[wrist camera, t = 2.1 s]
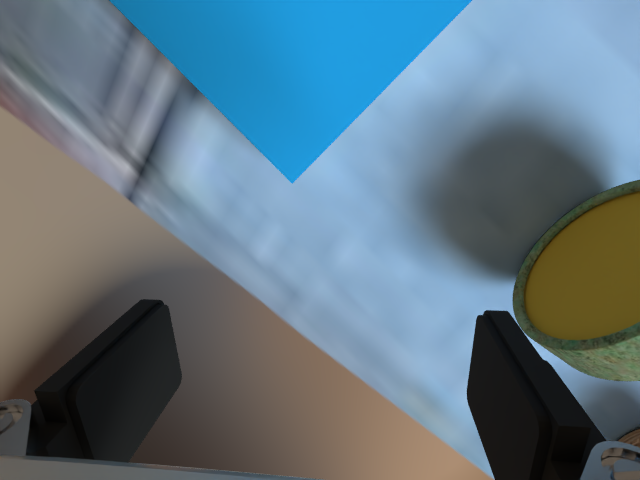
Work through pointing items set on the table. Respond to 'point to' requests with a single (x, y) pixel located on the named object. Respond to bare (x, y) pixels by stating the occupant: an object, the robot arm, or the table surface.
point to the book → (291, 61)
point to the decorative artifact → (587, 286)
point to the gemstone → (632, 438)
